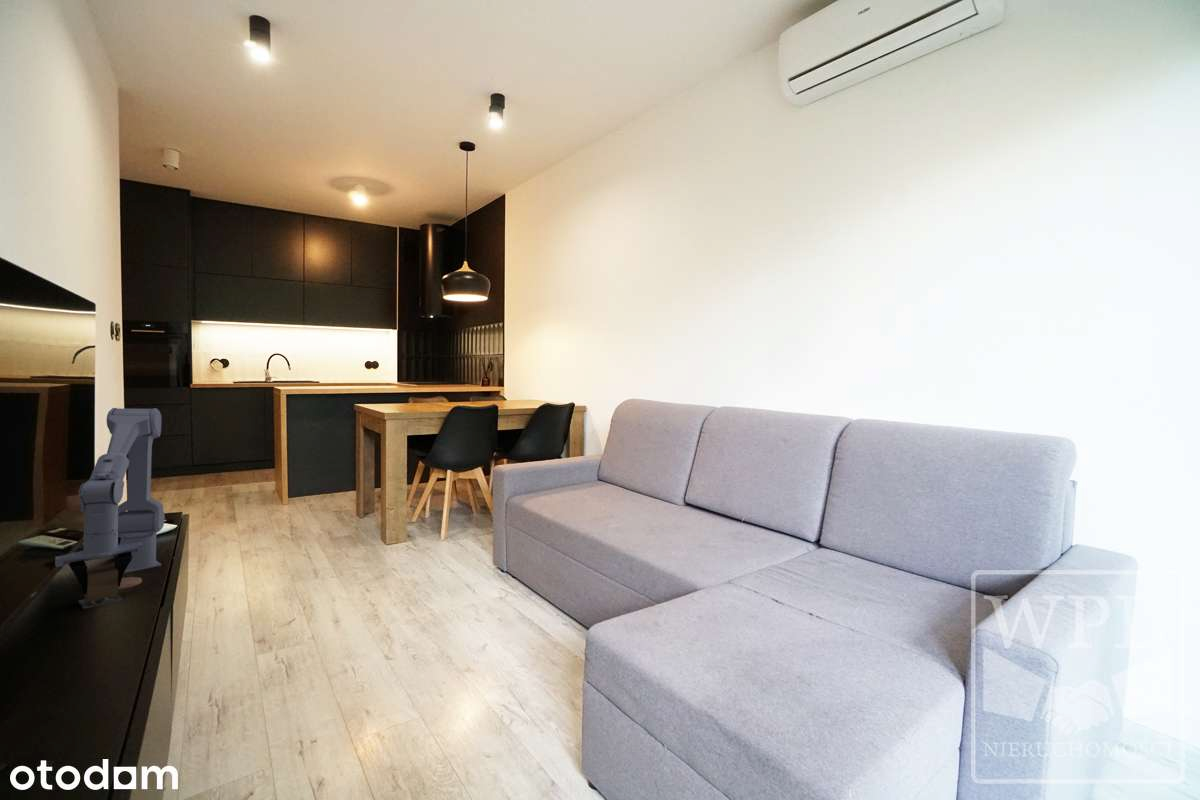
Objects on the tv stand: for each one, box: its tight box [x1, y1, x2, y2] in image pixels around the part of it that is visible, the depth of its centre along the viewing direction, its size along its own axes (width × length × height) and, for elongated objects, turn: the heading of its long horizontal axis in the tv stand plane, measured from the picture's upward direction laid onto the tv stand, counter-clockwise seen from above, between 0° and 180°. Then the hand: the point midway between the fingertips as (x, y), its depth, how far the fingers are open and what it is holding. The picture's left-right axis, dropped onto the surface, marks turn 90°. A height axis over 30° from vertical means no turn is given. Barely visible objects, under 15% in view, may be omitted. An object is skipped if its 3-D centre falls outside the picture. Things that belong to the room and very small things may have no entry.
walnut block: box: [83, 564, 119, 602], centre depth 120 cm, size 5×5×6 cm
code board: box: [78, 594, 123, 610], centre depth 120 cm, size 8×8×1 cm
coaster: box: [118, 576, 143, 591], centre depth 129 cm, size 8×8×1 cm
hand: (100, 589), depth 120 cm, fingers closed on walnut block, 5 cm apart
